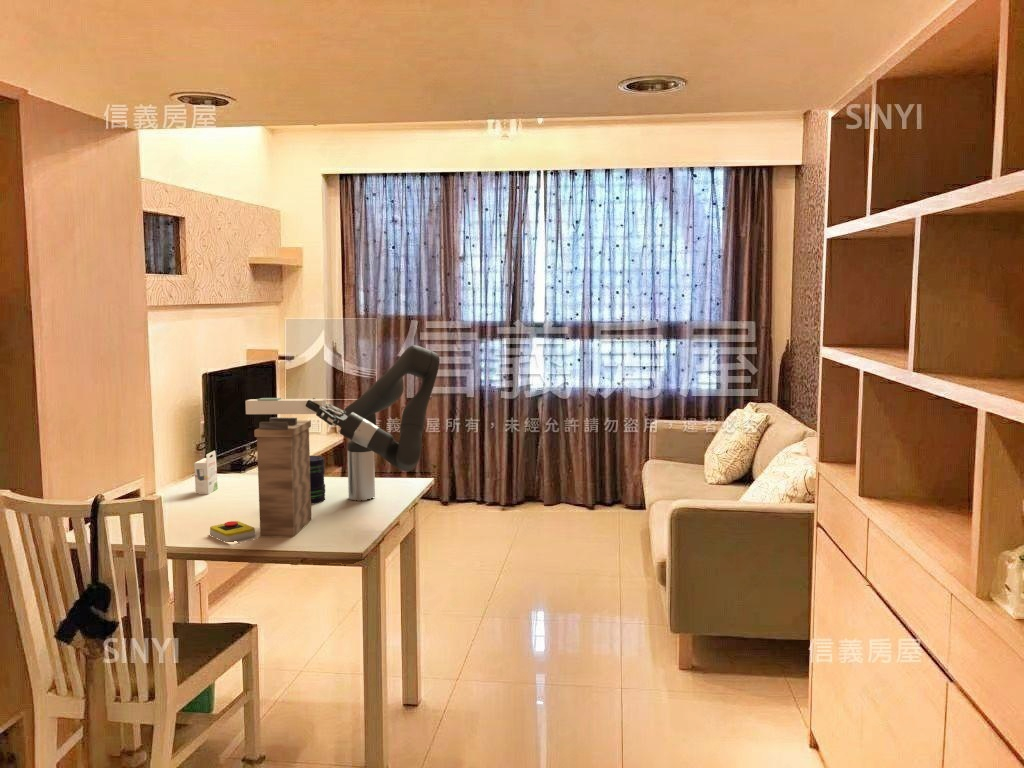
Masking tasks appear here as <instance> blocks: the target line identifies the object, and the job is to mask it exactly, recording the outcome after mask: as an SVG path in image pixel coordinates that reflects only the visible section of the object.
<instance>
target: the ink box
mask: <svg viewBox="0 0 1024 768" xmlns="http://www.w3.org/2000/svg"><path fill="white" fill-rule="evenodd" d="M205 456H206V457H205V458H204V457H203V458H201V459H200V460H198V461H195V462H194V463H193V467H194V468H193V469H194V486H195V488H194V489H195V494H196V493H199V494H198V495H210V494H211V493H213V492H215V491H216V489H217V490H218V489H219V488H218V470H217V468H218V467H217V466H218V465H217V455H216V450H213V451H211V452H209V453H207V454H206V455H205ZM214 490H215V491H214ZM209 493H210V494H209Z"/></svg>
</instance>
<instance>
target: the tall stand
mask: <svg viewBox="0 0 1024 768" xmlns="http://www.w3.org/2000/svg"><path fill="white" fill-rule="evenodd" d="M311 424H312V421H311V420H302V419H301V420H298V418H297V417H269V421H260V422H259V425H258V426H259V427H258V428H256V429H254V435H253V436H254V437H255V438H256V450H257V451H256V452H257V454H256V456H257V477H258V478H257V479H258V502H259V503H258V505H259V507H258V509H259V510H258V511H259V512H258V513H259V537H261V536H294V537H295V536H296V535H298V533H300V531H302V530H303V529H304V528H305V527H306V526H308V524H309V523H310V522H311V521H312V504H311V486H310V456H311V454H310V428H312V425H311ZM305 525H306V526H305ZM304 526H305V527H304ZM303 527H304V528H303ZM302 528H303V529H302Z"/></svg>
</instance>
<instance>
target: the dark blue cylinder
mask: <svg viewBox="0 0 1024 768" xmlns="http://www.w3.org/2000/svg"><path fill="white" fill-rule="evenodd" d="M325 467H326V466H325V457H324V456H321V455H310V486H311V505H313V504H312V503H314V504H319V503H318V502H320V503H323V502H325V501H326V497H325V496H326V484H325V472H326V469H325ZM324 500H325V501H324Z"/></svg>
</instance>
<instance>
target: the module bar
mask: <svg viewBox="0 0 1024 768" xmlns="http://www.w3.org/2000/svg"><path fill="white" fill-rule="evenodd" d="M308 400H311V401H313V402H315V403H316V404H318V405H320V406H322V407H324V408H326V404H327V399H326V398H315V399H313V398H284V399H283V398H282V397H261V398H256V399H254V398H253V399H252V398H251V399H246V400H245V415H316V412H315V411H313V410H311V409H309V408H307V407H306V403H307V401H308ZM322 414H324V412H322Z"/></svg>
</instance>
